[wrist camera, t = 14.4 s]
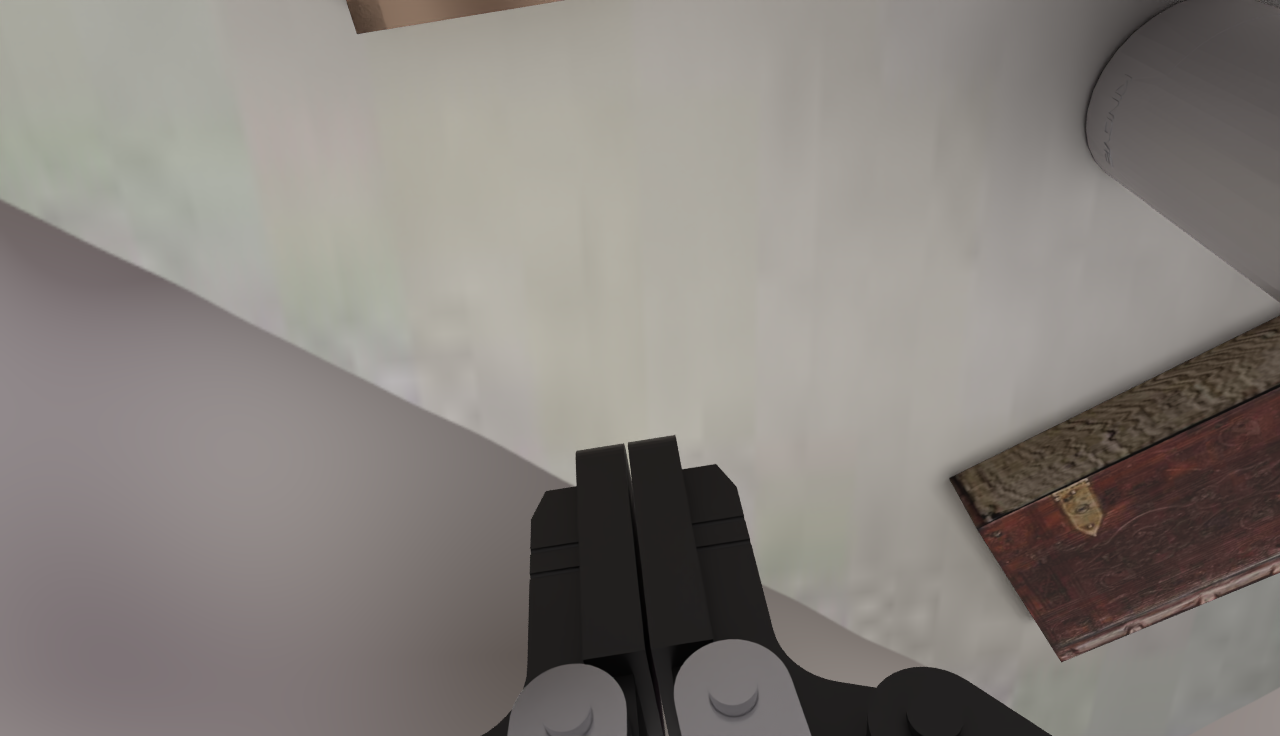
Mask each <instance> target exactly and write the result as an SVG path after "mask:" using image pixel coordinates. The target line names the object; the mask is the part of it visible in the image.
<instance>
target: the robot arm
mask: <svg viewBox="0 0 1280 736" xmlns="http://www.w3.org/2000/svg"><path fill="white" fill-rule="evenodd" d="M1086 133H1087V140H1088V146H1089V149H1090V151H1091V153H1092V155H1093V157H1094V160H1095V161H1096V162H1097V164H1098V165H1099V166H1100V167H1101V168H1102V169H1103V170H1104V171H1105V172H1106V173H1107V174H1108V175H1110V176H1111V177H1112V178H1114V179H1115V180H1116V181H1118V182H1119V183H1120V184H1122V185H1123V186H1124V187H1126V188H1127V189H1129V190H1130V191H1131V192H1133V193H1134V194H1135V195H1137V196H1138V197H1139V198H1141V199H1142V200H1143V201H1145V202H1146V203H1147V204H1148V205H1149V206H1151V207H1152V208H1153V209H1155V210H1156V211H1157V212H1159V213H1160V214H1162V215H1163V216H1164V217H1166V218H1167V219H1168V220H1170V221H1171V222H1172V223H1174V224H1175V225H1176V226H1178V227H1179V228H1180V229H1182V230H1183V231H1184V232H1186V233H1187V234H1188V235H1190V236H1191V237H1192V238H1194V239H1195V240H1196V241H1198V242H1199V243H1201V244H1202V245H1203V246H1205V247H1206V248H1207V249H1209V250H1210V251H1211V252H1213V253H1214V254H1215V255H1217V256H1218V257H1219V258H1221V259H1222V260H1223V261H1225V262H1226V263H1227V264H1229V265H1230V266H1231V267H1233V268H1234V269H1235V270H1237V271H1238V272H1240V273H1241V274H1242V275H1244V276H1245V277H1246V278H1248V279H1249V280H1250V281H1252V282H1253V283H1254V284H1256V285H1257V286H1258V287H1260V288H1261V289H1262V290H1264V291H1265V292H1266V293H1268V294H1269V295H1270V296H1272V297H1273V298H1274V299H1276V300H1277V301H1278V302H1280V8H1277V7H1274V6H1271V5H1268V4H1265V3H1262V2H1259V1H1256V0H1187V1H1184V2H1181V3H1178V4H1176V5H1174V6H1172V7H1170V8H1169V9H1167V10H1165V11H1163V12H1161V13H1160V14H1158V15H1156V16H1154V17H1153V18H1152V19H1151V20H1149V21H1148V22H1147V23H1146V24H1144V25H1143V26H1142V27H1140V28H1139V29H1138V30H1137V31H1135V32H1134V33H1133V34H1132V35H1131V36H1130V37H1129V39H1128V40H1127V41H1126V42H1125V43H1124V44H1123V45H1122V46H1121V47H1120V48H1119V49H1118V50H1117V51H1116V53H1115V54H1114V56H1113V57H1112V59H1111V60H1110V61H1109V63H1108V64H1107V66H1106V67H1105V69H1104V70H1103V72H1102V74H1101V76H1100V78H1099V80H1098V82H1097V84H1096V86H1095V88H1094V90H1093V94H1092V97H1091V100H1090V104H1089V107H1088V111H1087V123H1086ZM628 450H629V459H630V468H631V475H630V470H629V465H628V459H627V454H626V449H625V445H624V443H623V444H617V445H611V446H604V447H598V448H592V449H586V450H579V451H576V481H577V486H576V487H570V488H563V489H557V490H550V491H546V492H545V494H544V496H543V498H542V500H541V502H540V504H539V505H538V507H537V509H536V511H535V513H534V515H533V517H532V519H531V547H530V549H531V555H530V578H531V580H530V585H529V626H528V627H529V628H528V665H527V677H526V682H525V685H524V688H523V691H522V692H521V693H520V695H519V696H518V698H517V700H516V702H515V703H514V706H513V709H512V710H511V711H510V712H509V714H508V715H507V716H506V717H505V718H504V719H503V720H502V721H501V722H500V723H499V724H498V725H497V726H495V727H494V728H492V729H491V730H490V731H489V732H487V733H485V734H483V735H482V736H665V727H664V719H663V711H662V705H663V710H664V714H665V719H666V724H667V729H668V734H669V736H1052V735H1050V734H1049V733H1047V732H1046V731H1044V730H1042V729H1041V728H1039V727H1038V726H1036V725H1035V724H1033V723H1032V722H1030V721H1029V720H1027V719H1026V718H1024V717H1023V716H1021V715H1019V714H1018V713H1016V712H1015V711H1013V710H1012V709H1010V708H1009V707H1007V706H1006V705H1004V704H1003V703H1001V702H999V701H998V700H996V699H995V698H993V697H992V696H990V695H989V694H987V693H986V692H984V691H983V690H981V689H979V688H978V687H976V686H975V685H973V684H972V683H970V682H969V681H967V680H965V679H964V678H962V677H960V676H958V675H956V674H954V673H951V672H948V671H946V670H942V669H938V668H931V667H913V668H908V669H903V670H901V671H898V672H896V673H893V674H892V675H890V676H888V677H887V678H885V679H884V680H883V681H882V682H881V683H880V684H879V685H878V686H877V688H874V687H868V686H862V685H855V684H849V683H842V682H836V681H832V680H827V679H824V678H821V677H818V676H816V675H813V674H812V673H809V672H807V671H806V670H804V669H803V668H801V667H800V666H799V665H797V664H796V663H795V662H793V661H792V660H791V659H790V658H789V657H788V656H787V655H786V653H785V652H784V651H783V650H782V648H781V647H780V645H779V643H778V641H777V639H776V637H775V634H774V631H773V628H772V624H771V620H770V616H769V612H768V608H767V604H766V600H765V596H764V592H763V588H762V584H761V580H760V577H759V573H758V569H757V565H756V561H755V557H754V553H753V549H752V545H751V543H750V537H749V534H748V530H747V526H746V522H745V520H744V514H743V510H742V506H741V502H740V498H739V494H738V491H737V487H736V486H735V485H734V483H733V482H732V481H731V480H730V479H729V478H728V477H727V476H726V475H725V473H724V472H723V471H722V470H721V469H720V468H719V467H718V466H717V465H716V464H714V465H707V466H701V467H695V468H688V469H682V468H681V463H680V457H679V452H678V446H677V441H676V436H675V435H673V436H666V437H660V438H654V439H647V440H641V441H635V442H628ZM631 477H632V480H631ZM661 700H662V702H661Z"/></svg>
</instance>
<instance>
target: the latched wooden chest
mask: <svg viewBox="0 0 1280 736" xmlns="http://www.w3.org/2000/svg"><path fill="white" fill-rule="evenodd" d="M949 479H950V481H951V483H952V484H953V486H954V488H955V490H956V492H957V494H958V495H959V497H960V499H961V501H962V503H963V504H964V506H965V508H966V510H967V512H968V514H969V515H970V517H971V519H972V521H973V523H974V524H975V526H976V528H977V530H978V531H979V533H980V535H981V536H982V538H983V539H984V541H985V542H986V544H987V546H988V547H989V549H990V550H991V552H992V553H993V555H994V557H995V558H996V560H997V561H998V563H999V565H1000V566H1001V568H1002V569H1003V571H1004V572H1005V574H1006V576H1007V577H1008V579H1009V580H1010V582H1011V584H1012V585H1013V587H1014V588H1015V590H1016V591H1017V593H1018V595H1019V596H1020V598H1021V599H1022V601H1023V603H1024V604H1025V606H1026V607H1027V609H1028V610H1029V612H1030V614H1031V615H1032V617H1033V618H1034V620H1035V621H1036V623H1037V625H1038V626H1039V628H1040V629H1041V631H1042V633H1043V634H1044V636H1045V637H1046V639H1047V640H1048V642H1049V644H1050V645H1051V647H1052V648H1053V650H1054V652H1055V653H1056V655H1057V656H1058V658H1059V659H1060V661H1061V662H1063V661H1066V660H1068V659H1071V658H1073V657H1075V656H1078V655H1080V654H1083V653H1085V652H1088V651H1090V650H1092V649H1095V648H1097V647H1100V646H1102V645H1105V644H1107V643H1110V642H1112V641H1114V640H1117V639H1119V638H1122V637H1124V636H1127V635H1129V634H1131V633H1134V632H1136V631H1139V630H1141V629H1144V628H1146V627H1149V626H1151V625H1153V624H1156V623H1158V622H1161V621H1163V620H1166V619H1168V618H1170V617H1173V616H1175V615H1178V614H1180V613H1183V612H1185V611H1188V610H1190V609H1192V608H1195V607H1197V606H1200V605H1202V604H1205V603H1207V602H1209V601H1212V600H1214V599H1217V598H1219V597H1222V596H1224V595H1227V594H1229V593H1231V592H1234V591H1236V590H1239V589H1241V588H1244V587H1246V586H1248V585H1251V584H1253V583H1256V582H1258V581H1261V580H1263V579H1266V578H1268V577H1270V576H1273V575H1275V574H1278V573H1280V316H1278V317H1276V318H1274V319H1272V320H1270V321H1268V322H1266V323H1264V324H1262V325H1260V326H1258V327H1256V328H1254V329H1251V330H1249V331H1247V332H1245V333H1243V334H1241V335H1239V336H1237V337H1235V338H1233V339H1231V340H1229V341H1227V342H1225V343H1223V344H1221V345H1219V346H1217V347H1215V348H1213V349H1211V350H1209V351H1207V352H1205V353H1203V354H1201V355H1199V356H1197V357H1195V358H1193V359H1191V360H1189V361H1187V362H1184V363H1182V364H1180V365H1178V366H1176V367H1174V368H1172V369H1170V370H1168V371H1166V372H1164V373H1162V374H1160V375H1158V376H1156V377H1154V378H1152V379H1150V380H1148V381H1146V382H1144V383H1142V384H1140V385H1138V386H1136V387H1134V388H1132V389H1130V390H1128V391H1126V392H1124V393H1122V394H1119V395H1117V396H1115V397H1113V398H1111V399H1109V400H1107V401H1105V402H1103V403H1101V404H1099V405H1097V406H1095V407H1093V408H1091V409H1089V410H1087V411H1085V412H1083V413H1081V414H1079V415H1077V416H1075V417H1073V418H1071V419H1069V420H1067V421H1065V422H1063V423H1061V424H1059V425H1057V426H1055V427H1052V428H1050V429H1048V430H1046V431H1044V432H1042V433H1040V434H1038V435H1036V436H1034V437H1032V438H1030V439H1028V440H1026V441H1024V442H1022V443H1020V444H1018V445H1016V446H1014V447H1012V448H1010V449H1008V450H1006V451H1004V452H1002V453H1000V454H998V455H996V456H994V457H992V458H990V459H987V460H985V461H983V462H981V463H979V464H977V465H975V466H973V467H971V468H969V469H967V470H965V471H963V472H961V473H959V474H957V475H955V476H953V477H951V478H949Z"/></svg>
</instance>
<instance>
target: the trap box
mask: <svg viewBox="0 0 1280 736" xmlns="http://www.w3.org/2000/svg"><path fill="white" fill-rule="evenodd" d="M346 1H347V4H348V8H349V11H350V14H351V17H352V20H353V23H354V26H355V29H356V32H357V34H361V33H367V32H373V31H379V30H385V29H391V28H397V27H403V26H410V25H416V24H422V23H428V22H434V21H440V20H446V19H452V18H459V17H465V16H471V15H477V14H483V13H489V12H495V11H502V10H508V9H514V8H520V7H526V6H532V5H538V4H544V3H551V2H557V1H563V0H346Z"/></svg>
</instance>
